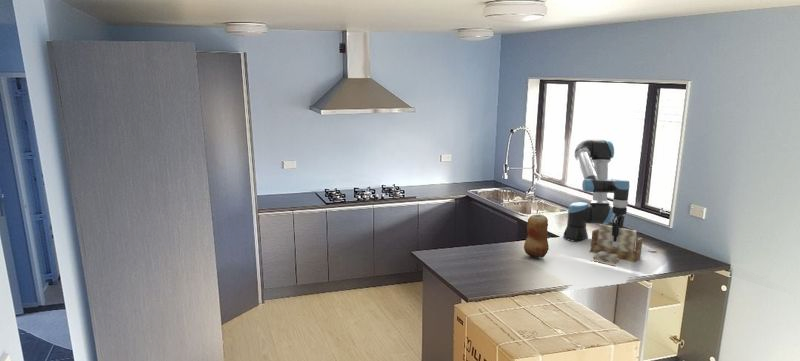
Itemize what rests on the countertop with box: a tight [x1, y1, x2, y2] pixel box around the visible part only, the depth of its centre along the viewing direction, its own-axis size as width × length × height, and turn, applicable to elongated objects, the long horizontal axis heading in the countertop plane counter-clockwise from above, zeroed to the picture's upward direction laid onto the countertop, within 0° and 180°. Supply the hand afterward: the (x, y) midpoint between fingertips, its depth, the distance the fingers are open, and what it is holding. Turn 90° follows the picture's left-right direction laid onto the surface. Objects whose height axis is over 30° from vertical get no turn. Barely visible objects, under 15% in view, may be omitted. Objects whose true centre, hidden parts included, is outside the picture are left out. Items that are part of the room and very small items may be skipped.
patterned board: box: [597, 224, 637, 254], centre depth 293 cm, size 20×2×16 cm, turn 48°
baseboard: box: [635, 241, 658, 253], centre depth 319 cm, size 31×3×12 cm
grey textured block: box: [592, 254, 621, 267], centre depth 284 cm, size 12×7×3 cm, turn 49°
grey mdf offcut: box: [596, 251, 618, 261], centre depth 284 cm, size 9×6×2 cm, turn 51°
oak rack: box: [588, 228, 643, 263], centre depth 293 cm, size 26×12×14 cm, turn 48°
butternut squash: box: [523, 213, 550, 260], centre depth 287 cm, size 14×13×25 cm
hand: (615, 246), depth 293 cm, fingers closed on patterned board, 2 cm apart
